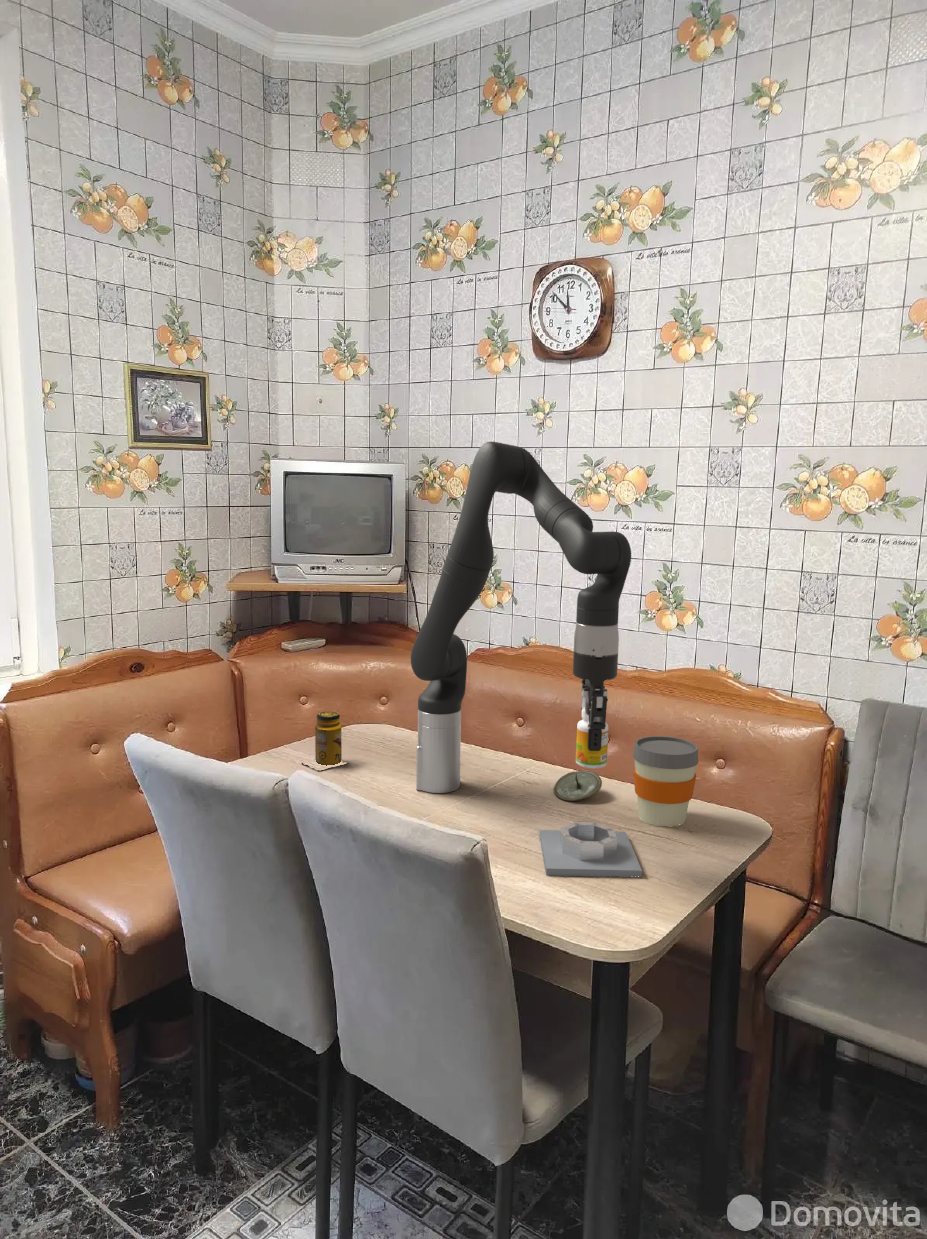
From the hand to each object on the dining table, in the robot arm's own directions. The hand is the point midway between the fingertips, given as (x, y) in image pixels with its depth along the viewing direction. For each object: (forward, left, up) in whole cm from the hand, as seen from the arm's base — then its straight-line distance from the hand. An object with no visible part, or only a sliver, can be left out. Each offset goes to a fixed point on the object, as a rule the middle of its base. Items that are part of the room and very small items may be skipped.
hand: (591, 744), depth 146 cm
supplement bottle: (0, 0, -4) cm, 4 cm away
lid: (+2, +30, -21) cm, 36 cm away
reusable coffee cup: (+17, +18, -21) cm, 32 cm away
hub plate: (0, 0, -20) cm, 20 cm away
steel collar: (0, 0, -19) cm, 19 cm away
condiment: (-55, +46, -21) cm, 75 cm away
